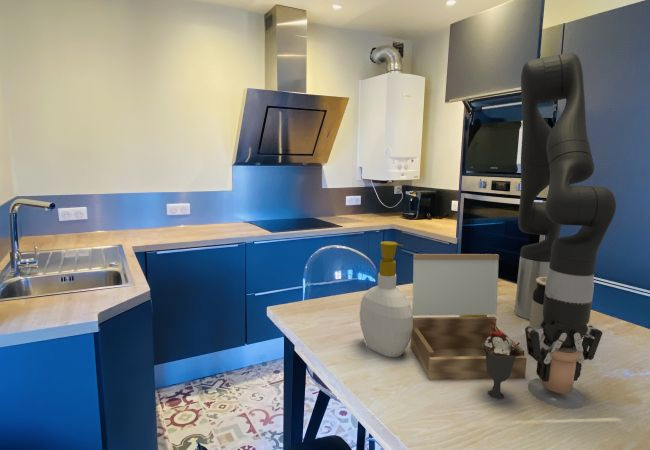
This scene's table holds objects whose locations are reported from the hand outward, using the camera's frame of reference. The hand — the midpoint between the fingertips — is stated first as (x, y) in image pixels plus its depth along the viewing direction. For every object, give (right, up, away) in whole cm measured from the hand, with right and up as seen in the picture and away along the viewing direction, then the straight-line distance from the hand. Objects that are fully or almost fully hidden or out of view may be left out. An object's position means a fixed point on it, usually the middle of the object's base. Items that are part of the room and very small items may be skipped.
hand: (557, 378), depth 76 cm
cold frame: (-14, -1, +12) cm, 18 cm away
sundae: (-12, -4, 0) cm, 12 cm away
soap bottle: (-30, 0, +18) cm, 35 cm away
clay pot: (0, -1, 0) cm, 1 cm away
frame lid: (-14, +16, +16) cm, 26 cm away
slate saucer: (0, -4, +1) cm, 4 cm away
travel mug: (+7, -1, +16) cm, 18 cm away
